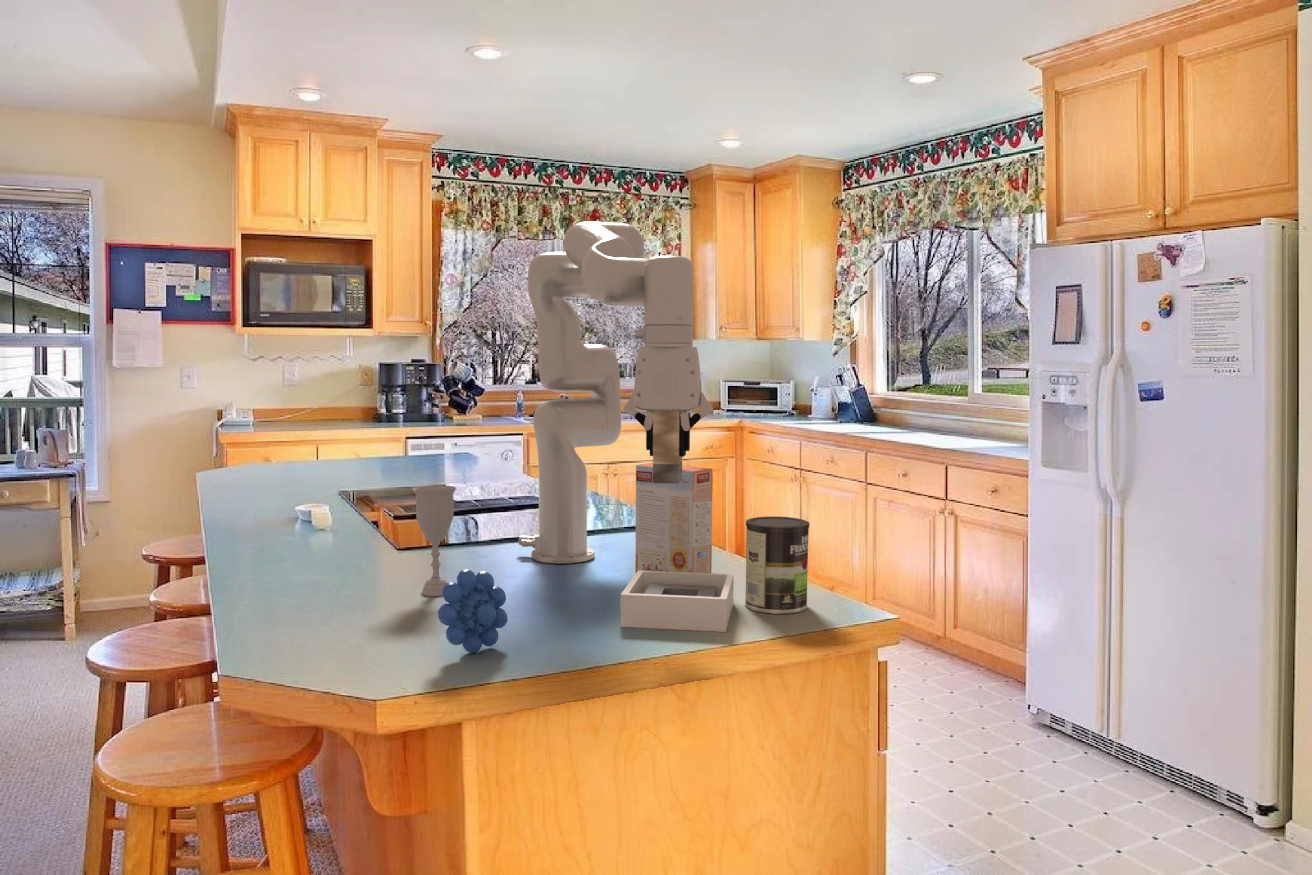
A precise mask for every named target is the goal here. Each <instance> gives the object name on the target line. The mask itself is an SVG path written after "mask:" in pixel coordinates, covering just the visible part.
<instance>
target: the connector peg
mask: <svg viewBox="0 0 1312 875" xmlns="http://www.w3.org/2000/svg"><path fill="white" fill-rule="evenodd" d="M681 427H682V423H681V417H680V411H653V456H652V463H653V483H670V484H679V483H680V482H681V481H682V465H683V457H680V456H679V432H680V431H681Z"/></svg>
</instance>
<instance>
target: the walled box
mask: <svg viewBox="0 0 1312 875" xmlns="http://www.w3.org/2000/svg"><path fill="white" fill-rule="evenodd" d="M734 577H735V575H734V573H715V572H714V573H713V572H711V573H692V572H668V571H643V570H638V571H637V572H636V574H635V573H634V575H633V577H632V578H631V579H630V581H629V582H628V584H627V585H626V587H625V588H624V590H622V591H621V593H620V627H621V628H635V629H636V628H638V629H657V630H658V629H659V630H660V629H662V630H674V631H675V630H678V631H697V632H698V631H700V632H716V633H717V632H718V633H720V632H721V633H726V632H727V629H728V626H729V622H730V618H731V613H732V610H733V606H734V590H735V589H734V585H735V584H734V581H735V579H734Z"/></svg>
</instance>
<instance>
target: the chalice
mask: <svg viewBox="0 0 1312 875" xmlns="http://www.w3.org/2000/svg"><path fill="white" fill-rule="evenodd" d="M456 490H457V486H453V485H423V486H417V487H413V488H412V491H413V493H414V495H415V516H416V519H417V523H418V525H419V529H420V531H421V532H422V533H423V536H424V538H425V540H426V541H427V542H430V543H431V545H432V549H431V550H432V551H431V553H430V555H431V558H432V562H431V563H430V566H431V568H432V575H431V577H429V578H427V579H426V580H425V582H424V585H423V586H422V588H423V589H422V590H421V591H420V593H421V595H424V596H428V597H437V596H438V597H439V596H443V593H442V590H443V588H444V586H445V584H447V583H448V581H447V579H446V578H444V577H441V576H442V575H441V574H440V571H439V570H440V566H441V565H442V563H441V562H440V560H439V558H440V555H441V551H440V550H439V544H440V543H441V542H443V541H444V540H445V539H446V538H445V537H446V536H447V534H448V532H449V530H450V527H451V525H452V522H453V519H454V494H455V492H456Z"/></svg>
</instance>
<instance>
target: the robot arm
mask: <svg viewBox="0 0 1312 875" xmlns="http://www.w3.org/2000/svg"><path fill="white" fill-rule="evenodd" d="M562 243H563V249H564V251H553V252H552V251H551V252H543V253H540V254H538V255H537V256H535V257H534V258H533V259H532V260H531V261H530V263H529V266H528V271H527V290H528V296H529V299H530V303H531V306H532V309H533V312H534V315H535V320H536V326H537V348H538V350H537V353H538V370H539V379H540V384H541V385H542V387H543V388H544V389H545V390H546V391H550V392H554V393H590V394H591V396H592V397H591V398H562V399H561V398H557V399H551V400H548V401H544V402H542V403H541V404H539V405H538V406H537V407H536V408H535V411H534V413H533V419H532V421H533V423H532V424H533V430H534V436H535V442H536V447H537V448H536V449H537V460H538V461H537V462H538V463H537V464H538V534H534V536H529V535H519V537H518V544H519V546H521V547H524V548H526V547H531V548H533V550H532V551H531V554H530V556H531V557H530V558H531V559H533V560H534V561H536V562H539V563H540V562H541V563H546V564H559V565H560V564H563V565H565V564H576V563H577V564H578V563H582V562H588V561H590V560H593V559H594V558H595V557H596V556H595V554H596V552H595V550H594V549H592V548H591V547H587V546H588V505H587V504H588V476H587V475H588V474H587V468H586V464H585V463H584V461H583V460H582V458H581V457H580V456H579V455H578V453H577V452H576V449H577V448H583V447H584V448H586V447H602V446H603V447H605V446H610V445H613V444H615V443H616V442H617V441H618V439H619V437H620V435H621V429H622V405H621V404H622V403H621V402H622V401H621V377H620V375H621V374H620V365H619V362H618V361H619V360H618V357H617V355H616V353H615V351H614V350H613V349H612V348H611V347H610V346H608V345H604V344H597V343H593V344H592V343H587V344H586V343H583V340H582V334H581V332H582V331H581V329H582V328H581V320H580V317H579V315H578V312H576V310H575V308H574V307H573V306H572V304H571V303H569V301H567V299H566V298H582V299H583V298H585V299H586V298H587V299H595V300H596V301H597V302H599V303H601V304H604V305H607V306H608V305H609V306H618V307H619V306H621V307H622V306H624V307H625V306H626V307H627V306H628V307H630V306H631V307H644V312H643V313H644V318H643V319H644V321H643V324H644V325H643V328H641V329H636V330H634V337H635V339H636V340H638V339H639V340H642V341H643V342H642V343H643V345H644V346H639V347H638V351H637V354H636V356H637V357H636V360H635V361H636V363H635V369H634V370H635V372H634V373H635V374H634V385H633V386H634V387H633V390H634V391H633V393H632V394H631V396H630V398H629V399H628V401H627V402H626V404H625V405H624V407H623V411H624V412H625V413H626V414H628V415H629V416H630V417H632V418H634V419H635V420H636V421H637V422H638V423H639V424H640V425H641V426H642V428H644V430H645V450H646V451H649V457H653V411H680V417H681V423H682V427H681V431H680V432H679V456H680V457H682V458H684V457H685V456H687V452H689V451H690V449H691V448H690V447H691V444H690V443H691V429H692V428H693V427H694V426H695V425H696V424H697V423H698V422H700V420H702V419H703V418H705V417H706V416H708V415H709V414H711V413H712V412H713V409H714V407H712V404H711V403H710V402H709V400H708V398H707V397H706V395H705V394H704V393H703V391H702V381H701V380H702V379H701V378H702V377H701V365H700V358H699V352H698V348H697V347H698V346H693V342H694V339H693V338H694V337H693V336H694V326H693V325H694V265H693V262H692V261H691V259H690V258H688V257H685V256H678V255H658V256H653V257H649V258H647V259H646V258H643V256H644V250H645V247H644V239H643V237H642V234H641V233H640V231H639V230H638V229H637V228H636V226H633V225H631V224H628V223H620V222H619V223H618V222H603V221H581V222H578V223H576V224H574V225H572V226H571V227H570V228H569V229H568V230H567V231H566V233H565V234H564V238H563V242H562ZM699 407H701V408H700V410H698V411H697V412H695V413H694V414H692V416H691V411H694V410H696V409H698V408H699ZM640 410H641V411H640ZM642 411H645V412H646V413H644V412H642Z"/></svg>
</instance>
